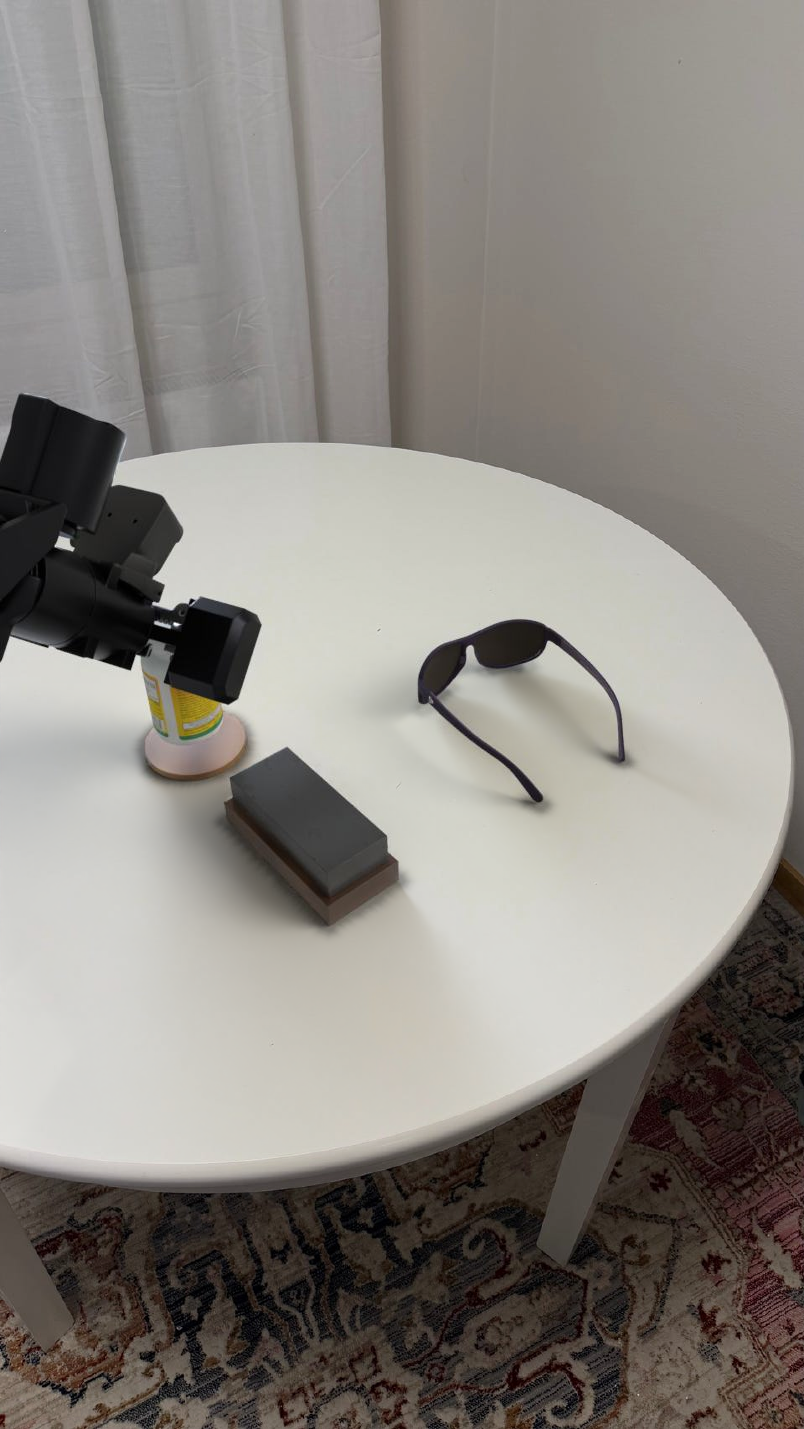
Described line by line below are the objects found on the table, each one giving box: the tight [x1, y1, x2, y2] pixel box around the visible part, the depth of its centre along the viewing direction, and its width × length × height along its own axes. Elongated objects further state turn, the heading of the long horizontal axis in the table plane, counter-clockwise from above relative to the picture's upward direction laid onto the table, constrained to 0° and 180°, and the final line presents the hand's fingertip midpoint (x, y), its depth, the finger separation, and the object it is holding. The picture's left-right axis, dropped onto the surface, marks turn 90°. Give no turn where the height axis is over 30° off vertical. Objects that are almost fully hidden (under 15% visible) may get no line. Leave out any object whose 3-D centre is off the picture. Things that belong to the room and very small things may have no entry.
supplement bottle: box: [139, 608, 224, 745], centre depth 75 cm, size 5×5×10 cm
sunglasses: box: [417, 618, 626, 804], centre depth 80 cm, size 14×16×5 cm
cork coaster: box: [143, 710, 248, 782], centre depth 80 cm, size 8×8×1 cm
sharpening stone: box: [223, 746, 400, 926], centre depth 70 cm, size 13×6×4 cm, turn 40°
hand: (188, 647), depth 75 cm, fingers closed on supplement bottle, 5 cm apart
